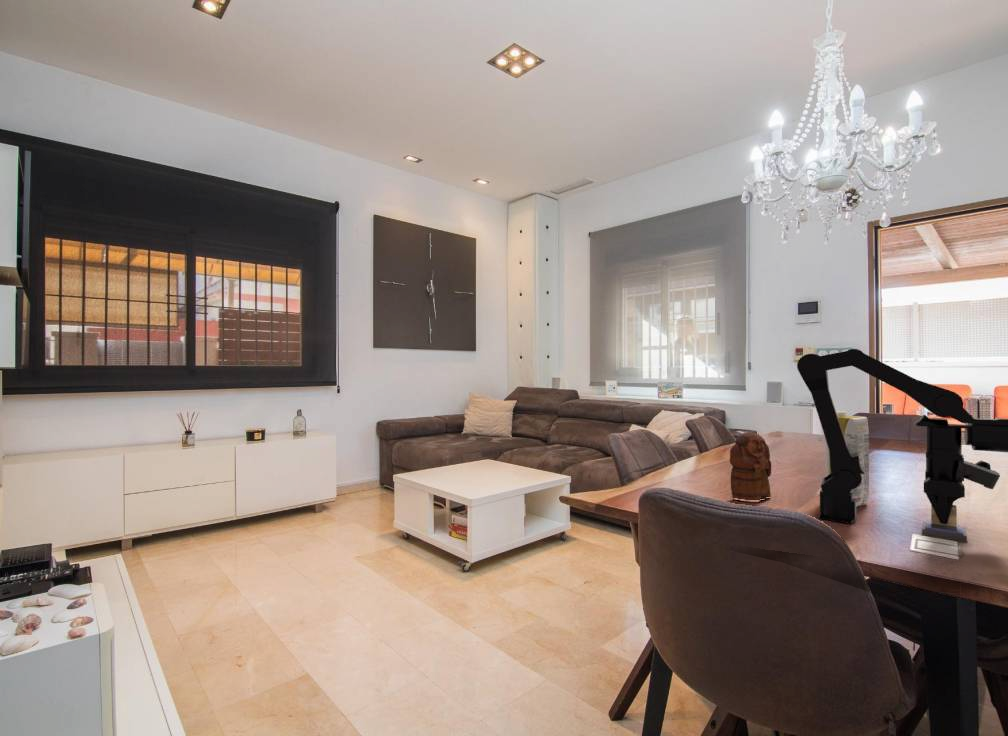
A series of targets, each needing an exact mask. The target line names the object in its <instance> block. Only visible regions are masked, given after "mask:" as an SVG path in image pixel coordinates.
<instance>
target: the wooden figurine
mask: <svg viewBox="0 0 1008 736" xmlns="http://www.w3.org/2000/svg"><path fill="white" fill-rule="evenodd" d="M729 463H730V465H731V466H732V467H731V473H730V489H731V490H730V491H731V495H732V497H731V498H732V499H733V498H738V499H745V500H760V499H766V497H771V498H772V495H771V494H772V493H771V485H770V481H769V478H770V477H771V475H772V462H771V452H770V448H769V445H768V444H767V443H766V440H765V439H764V437H763V435H760V434H758V433H756V432H744V433H741V434H740V435H739V436H738V437H736V439H735V441H734V444H733V445H732V446H731V447H730V450H729Z"/></svg>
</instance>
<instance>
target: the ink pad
mask: <svg viewBox="0 0 1008 736" xmlns="http://www.w3.org/2000/svg"><path fill="white" fill-rule="evenodd" d="M921 525H922V527H921V536H927V537H933V538H939V539H945V540H951V541H957V542H958V541H959V542H964V543H966V542H968V534H967V527H963V525H959V524H957V531H955V530H949V529H943V528H936V527H931V520H923V521H922V524H921Z"/></svg>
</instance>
